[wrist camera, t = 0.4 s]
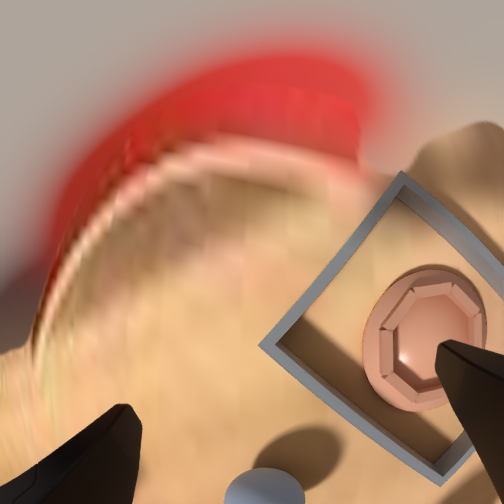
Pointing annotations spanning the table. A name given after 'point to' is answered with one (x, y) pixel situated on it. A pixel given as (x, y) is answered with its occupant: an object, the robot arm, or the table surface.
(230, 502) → the ball
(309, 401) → the table surface
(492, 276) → the grey rectangular frame
